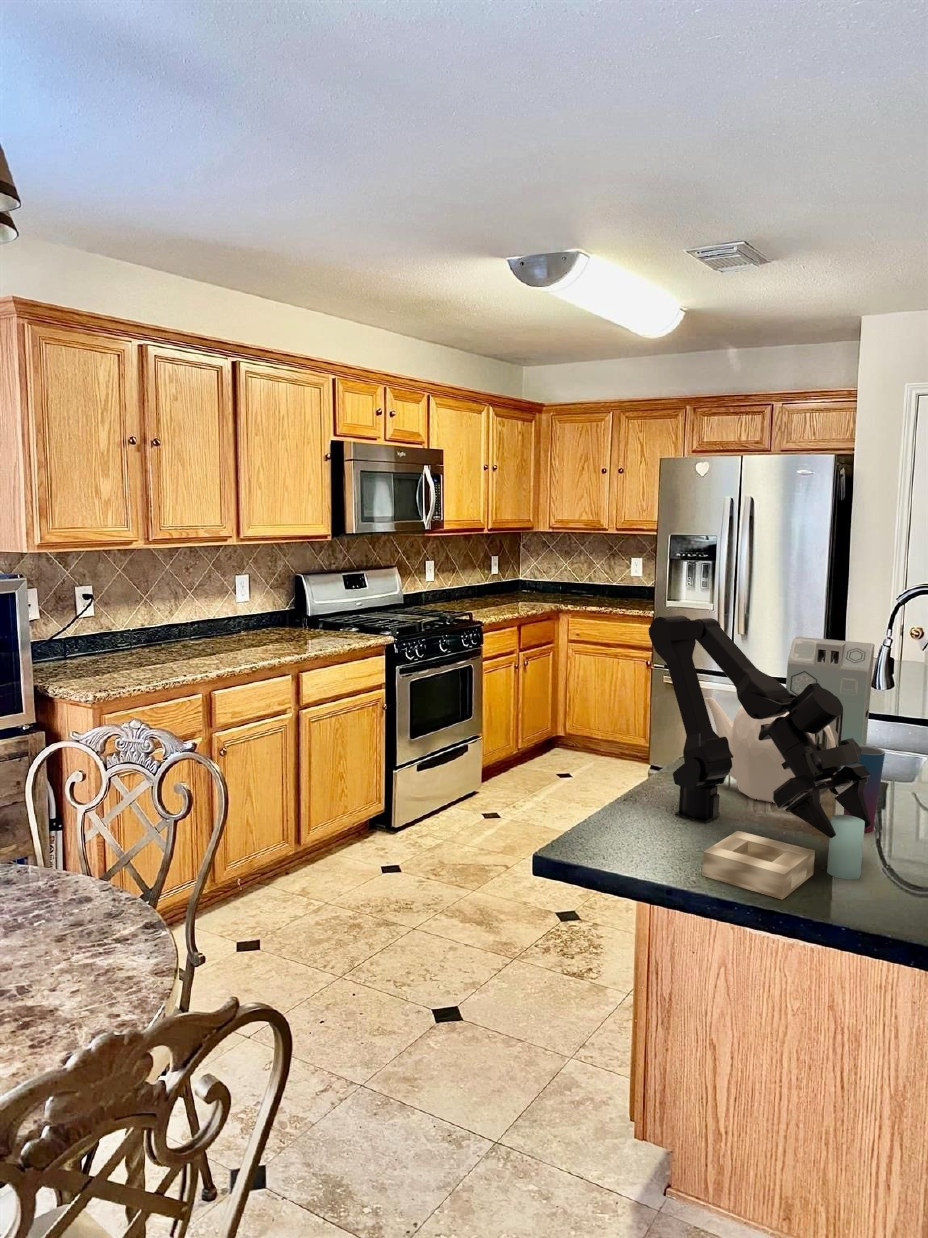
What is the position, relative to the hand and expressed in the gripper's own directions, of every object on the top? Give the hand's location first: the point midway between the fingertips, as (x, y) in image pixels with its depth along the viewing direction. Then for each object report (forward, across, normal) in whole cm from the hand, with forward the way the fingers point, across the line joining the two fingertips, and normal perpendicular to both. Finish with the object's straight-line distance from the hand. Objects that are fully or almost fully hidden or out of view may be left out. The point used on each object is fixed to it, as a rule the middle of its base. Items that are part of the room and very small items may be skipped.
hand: (851, 832), depth 146 cm
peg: (+4, 0, +6) cm, 7 cm away
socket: (0, -13, +10) cm, 17 cm away
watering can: (-20, +22, +30) cm, 42 cm away
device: (-22, +45, +32) cm, 59 cm away
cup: (-4, +22, +14) cm, 26 cm away
